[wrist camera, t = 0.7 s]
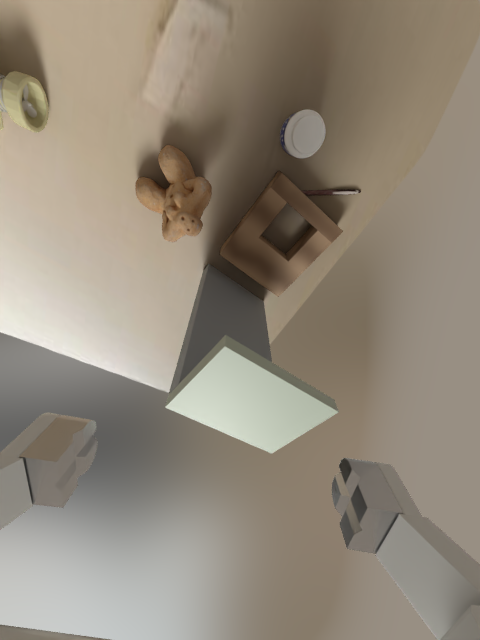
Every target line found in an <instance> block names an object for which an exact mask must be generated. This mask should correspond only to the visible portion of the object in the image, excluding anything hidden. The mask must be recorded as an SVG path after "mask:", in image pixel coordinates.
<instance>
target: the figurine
mask: <svg viewBox="0 0 480 640" xmlns="http://www.w3.org/2000/svg"><path fill="white" fill-rule="evenodd" d="M158 161H159V165H160V168H161V169H162V171H163V173H164V175H165V177H166V178H167V180H168V181H169V183H170V185H169V188H167V189H164V188H161V187H160V186H159V185H158V184H157V183H156V182H155V181H154V180H152V179H149V178H146V177H140V178H138V180H137V181H136V195H137V198H138V199H139V201H140V202H141V203H142V204H143V205H144V206H145V207H147V208H149V209H150V210H152V211H155V212H158V213H160V214H163V215H162V219H163V223H162V233H163V237H164V239H165V240H167V241H171V242H175V241H177V240H178V239H179V238H180V237H182V236H184V235H186V234H187V235H189V236H196V235H198V233H199V232H200V231H201V229H202V226H203V223H202V221H201V220H200V218H201V216H202V214H203V211H204V209H205V208H206V206H207V205H208V204H209V201H210V198H211V194H212V187H211V184H210V183H209V182H208V180H206V179H205V178H203V177H196V176H195V174H194V171H193V168H192V166H191V163H190V161H189V160H188V158H187V157H186V156H185V154H184V153H183V152H182V151H180V150H179V149H177V148H175V147H173V146H171V145H166V146H165V147H164V148H163V149H162V150H161V151H160V153H159V156H158Z"/></svg>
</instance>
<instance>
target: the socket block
mask: <svg viewBox="0 0 480 640" xmlns="http://www.w3.org/2000/svg"><path fill="white" fill-rule="evenodd" d="M287 203H288V204H289V205H290V206H291V207H293V208H294V209H295V210H296V211H297V212H298V213H299V214H300V215H301V216H302V217H304V218H305V219H306V220H307V221H308V222H309V223H310V224H311V225H312V226H311V227H310V228H309V229H308V231H307V232H306V233H305V234H304V235H303V236H302V237H301V238H300V239H299V240H298V242H297V243H296V244H295V245H294V246H293V247H292V248H291V249H290V250H289V251H288V252H287V254H285V253H283V252H282V251H281V250H280V249H278V248H277V247H276V246H275V245H273V244H272V243H271V242H270V241H268V240H267V239H266V238H265V237H264V236H262V235H261V234H262V233H263V232H264V230H265V229H266V228H267V227H268V226H269V224H270V223H271V222H272V221H273V219H274V218H275V217H276V216H277V215H278V213H279V212H280V211H281V210H282V208H283V207H284V206H285V205H286V204H287ZM342 232H343V231H342V230H341V229H340V228H339V227H338V226H337V225H336V224H335V223H334V222H333V221H332V220H331V219H330V218H329V217H328V216H327V215H326V214H325V213H323V212H322V211H321V210H320V209H319V208H318V207H317V206H316V205H315V204H314V203H313V202H312V201H311V200H310V199H309V198H308V197H307V196H306V195H305V194H304V193H303V192H301V191H300V190H299V189H298V188H297V187H296V186H295V185H294V184H293V183H292V182H291V181H290V180H289V179H288V178H287V177H286V176H285V175H284V174H283V173H282V172H280V171H278V172H277V174H276V175H275V176H274V178H273V179H272V180H271V182H270V183H269V184H268V186H267V187H266V188H265V190H264V191H263V192H262V194H261V195H260V196H259V198H258V199H257V200H256V202H255V203H254V204H253V206H252V207H251V208H250V210H249V211H248V212H247V214H246V215H245V216H244V218H243V219H242V220H241V222H240V223H239V224H238V226H237V227H236V228H235V230H234V231H233V232H232V234H231V235H230V236H229V238H228V239H227V240H226V241H225V243H224V244H223V245H222V247H221V250H220V255H221V256H222V257H224V258H225V259H226V260H228V261H229V262H230V263H232V264H233V265H235V266H236V267H237V268H239V269H240V270H242V271H243V272H244V273H246V274H247V275H248V276H250V277H251V278H253V279H254V280H255V281H257V282H258V283H260V284H261V285H262V286H264V287H265V288H266V289H268V290H269V291H271V292H272V293H273V294H275V295H276V296H278V297H279V296H280V295H281V294H282V293H283V292H284V291H285V290H286V289H287V288H288V287H289V286H290V285H291V284H292V283H293V282H294V281H295V280H296V279H297V278H298V277H299V276H300V275H301V274H302V272H303V271H304V270H305V269H306V268H307V267H308V266H309V265H310V264H311V263H312V262H313V261H314V260H315V259H316V258H317V257H318V256H319V255H320V254H321V253H322V252H323V251H324V250H325V249H326V248H327V247H328V246H329V245H330V244H331V243H332V242H333V241H334V240H335V239H336V238H337V237H338V236H339V235H340V234H341V233H342Z"/></svg>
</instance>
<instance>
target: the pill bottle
mask: <svg viewBox="0 0 480 640" xmlns="http://www.w3.org/2000/svg"><path fill="white" fill-rule="evenodd" d="M325 133H326V130H325V124H324V121H323V119H322V117H321V116H320V115H319V114H318V113H317V112H316V111H313V110H309V109H307V110H301V111H299V112H297V113H294V114H292V115H290V116H289V117H288V118H287V119H286V120H285V122H284V123H283V125H282V127H281V131H280V143H281V146H282V148H283V150H284V151H285V152H286V153H288V154H289V155H291V156H294V157H296V158H307V157H310V156H312V155H313V154H314V153H316V152H317V151H318V149H319V148H320V147H321V145H322V143H323V141H324V138H325Z"/></svg>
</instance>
